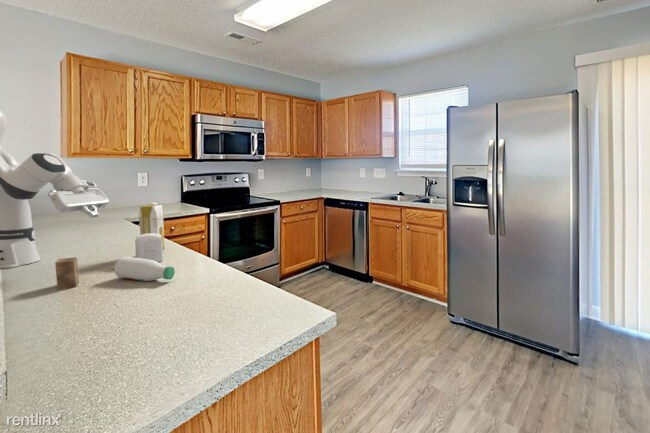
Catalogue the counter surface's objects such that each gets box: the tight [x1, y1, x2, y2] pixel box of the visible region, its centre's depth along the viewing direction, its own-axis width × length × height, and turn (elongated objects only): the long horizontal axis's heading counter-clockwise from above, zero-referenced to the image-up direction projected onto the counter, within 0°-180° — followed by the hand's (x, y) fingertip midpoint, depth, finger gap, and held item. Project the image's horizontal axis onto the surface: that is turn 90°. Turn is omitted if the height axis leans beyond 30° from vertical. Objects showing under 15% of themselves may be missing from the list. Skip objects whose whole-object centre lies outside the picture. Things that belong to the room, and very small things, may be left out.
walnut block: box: [54, 257, 80, 290], centre depth 118 cm, size 5×5×9 cm
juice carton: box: [138, 202, 165, 255], centre depth 156 cm, size 9×8×24 cm
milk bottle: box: [114, 256, 176, 282], centre depth 126 cm, size 8×8×20 cm
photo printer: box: [134, 233, 164, 263], centre depth 147 cm, size 10×4×12 cm, turn 123°
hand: (95, 216), depth 133 cm, fingers closed
